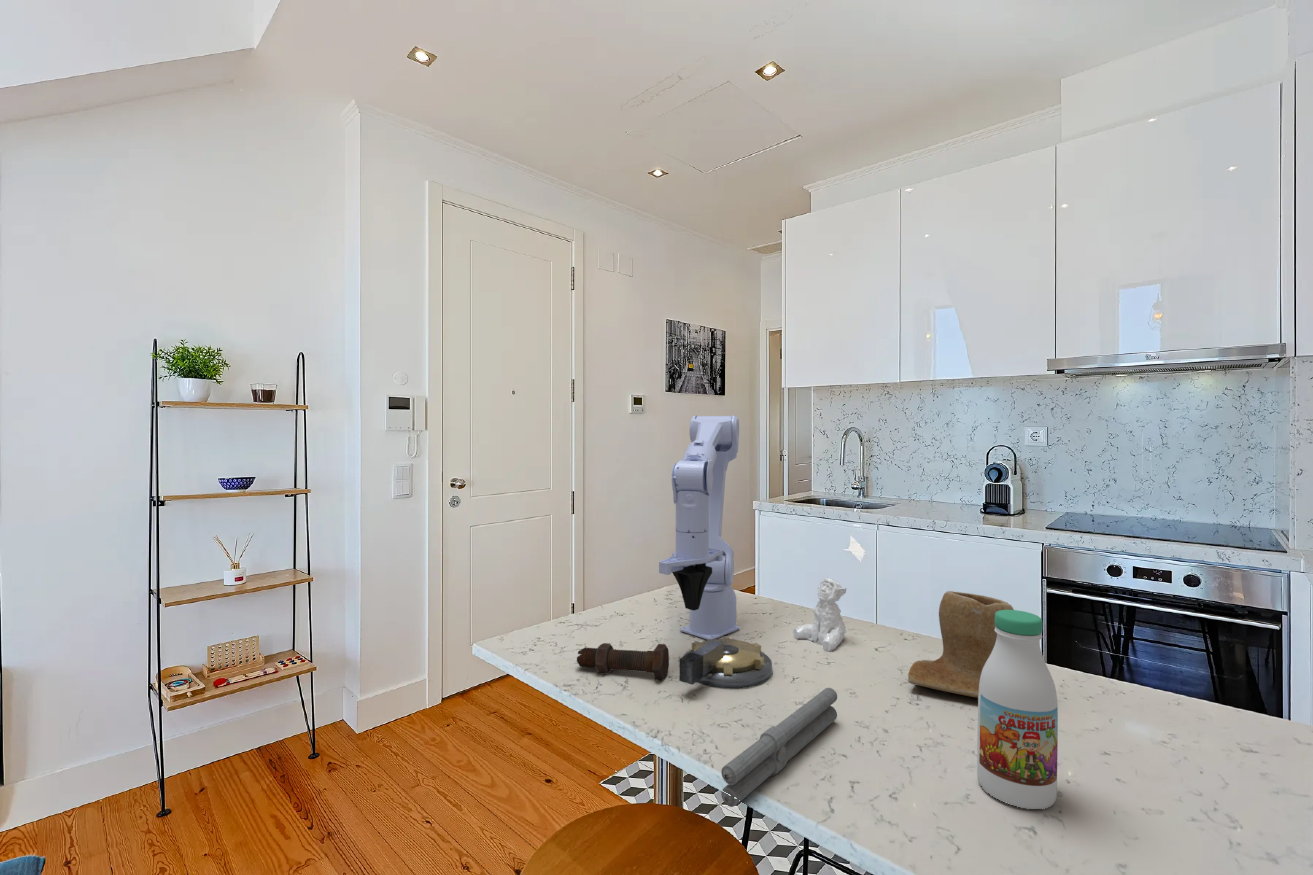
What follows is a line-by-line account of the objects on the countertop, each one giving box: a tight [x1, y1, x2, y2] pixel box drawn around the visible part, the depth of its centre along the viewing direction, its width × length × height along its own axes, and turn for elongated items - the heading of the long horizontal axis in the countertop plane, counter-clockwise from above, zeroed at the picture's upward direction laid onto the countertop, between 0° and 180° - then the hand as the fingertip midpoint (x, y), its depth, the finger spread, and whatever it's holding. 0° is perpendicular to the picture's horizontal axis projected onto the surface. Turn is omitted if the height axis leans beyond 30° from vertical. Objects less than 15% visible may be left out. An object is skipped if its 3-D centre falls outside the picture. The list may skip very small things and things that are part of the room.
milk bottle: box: [976, 609, 1059, 810], centre depth 68 cm, size 8×8×20 cm
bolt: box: [576, 642, 670, 682], centre depth 100 cm, size 6×5×15 cm
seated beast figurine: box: [792, 577, 847, 652], centre depth 115 cm, size 10×9×12 cm
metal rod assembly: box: [721, 687, 838, 808], centre depth 74 cm, size 26×3×5 cm, turn 139°
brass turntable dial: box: [678, 636, 764, 685], centre depth 99 cm, size 19×13×4 cm
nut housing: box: [682, 648, 773, 690], centre depth 102 cm, size 15×15×2 cm
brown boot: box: [907, 590, 1015, 699], centre depth 94 cm, size 15×12×15 cm
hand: (692, 608), depth 104 cm, fingers closed
